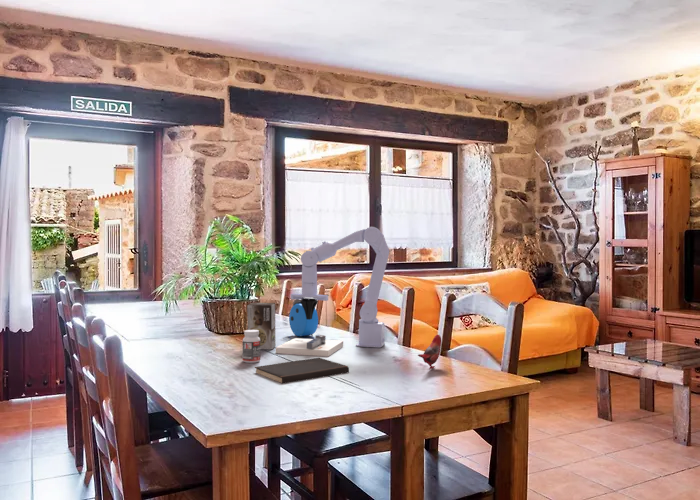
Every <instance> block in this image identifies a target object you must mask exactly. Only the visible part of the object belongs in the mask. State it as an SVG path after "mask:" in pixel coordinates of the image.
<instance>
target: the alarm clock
mask: <svg viewBox="0 0 700 500" xmlns="http://www.w3.org/2000/svg"><path fill="white" fill-rule="evenodd" d="M301 301H302V299H294V301H292V307H291V309H290V311H289V316H288V317H289V318H288V323H289V327H290V330H291V332H292V333H293V334H294V335H295V336H296V337H307V336H311V337H312V338H313V337H314V334H315V333H316V332H317V329H318V325H319V315H318V311H317V309H316V308H315V309H314V312H313V316H312V319H310V320H309V319H306V314H305V311H304V308H303V306H302V304H301Z"/></svg>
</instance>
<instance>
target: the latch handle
mask: <svg viewBox="0 0 700 500" xmlns="http://www.w3.org/2000/svg"><path fill="white" fill-rule="evenodd" d="M312 339H313V340H311V341H309V342H307V349H313V348H315V347H317V346H318V345H320V344H322V343H325V340H327V339H326V335H323V334H318V335H315V338H312Z"/></svg>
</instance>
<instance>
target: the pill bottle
mask: <svg viewBox="0 0 700 500" xmlns="http://www.w3.org/2000/svg"><path fill="white" fill-rule="evenodd" d="M243 332H244V333H243V334H244V336H243V338H242V357H241V358H242V362H244V363H247V364H254V363H259V362H260V361H261V349H260V338H259V337H258V335H259V330H248V329H245V330H243Z"/></svg>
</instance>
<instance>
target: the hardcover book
mask: <svg viewBox="0 0 700 500" xmlns="http://www.w3.org/2000/svg"><path fill="white" fill-rule="evenodd" d="M349 368H350V367H349V366H348V365H345V364H342V363H339V362H335V361H333V360H329V359H325V358H321V357H313V358H308V359H306V358H305V359H301V360H300V359H299V360H293V361H287V362H286V361H285V362H279V363H273V364H265V365H258V366H254V369H255V373H256V374H258V375H260V376H263V377H266V378H268V379H270V380H273V381H276V382H279V383H280V384H281V385H282V384H283V385H284V384H289V383H293V382H300V381H305V380H306V379H307V380H312V378H313V379H319V378H323V376H324V377H329V376H336V375H340V374H341V373H342V374H346V373H347V372H348V373H350V369H349ZM348 373H347V374H348ZM335 374H336V375H335Z"/></svg>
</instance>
